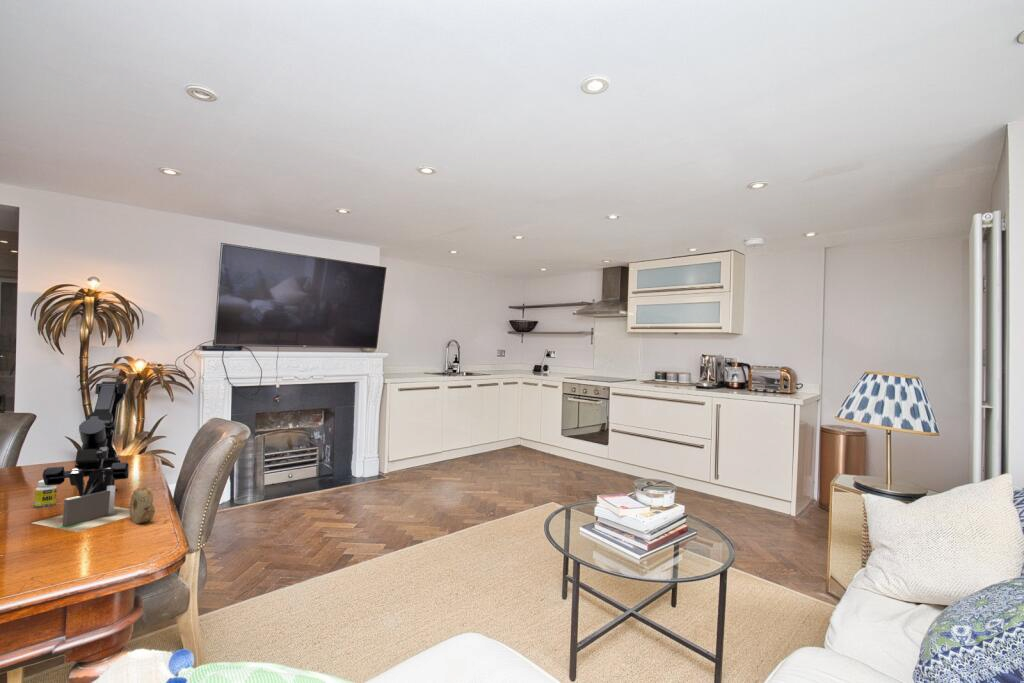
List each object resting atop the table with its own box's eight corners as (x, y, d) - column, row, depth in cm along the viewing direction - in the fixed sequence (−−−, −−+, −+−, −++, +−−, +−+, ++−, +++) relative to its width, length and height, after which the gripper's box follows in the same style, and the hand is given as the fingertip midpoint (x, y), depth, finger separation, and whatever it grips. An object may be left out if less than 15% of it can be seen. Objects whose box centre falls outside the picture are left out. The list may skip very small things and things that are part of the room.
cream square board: (102, 506, 145) (102, 504, 145) (145, 513, 141) (145, 511, 141) (31, 525, 128) (31, 522, 128) (77, 534, 124) (77, 531, 124)
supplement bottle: (40, 510, 139) (43, 483, 140) (29, 509, 140) (31, 481, 141) (59, 506, 144) (61, 479, 144) (47, 504, 145) (50, 477, 145)
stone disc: (125, 520, 135) (128, 486, 135) (140, 517, 138) (143, 483, 138) (139, 528, 129) (141, 493, 130) (154, 525, 132) (157, 490, 133)
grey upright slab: (110, 512, 138) (112, 484, 139) (114, 513, 138) (117, 485, 138) (61, 525, 127) (64, 495, 127) (66, 526, 126) (69, 496, 127)
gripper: (47, 439, 131) (32, 488, 122) (131, 436, 142) (123, 480, 132) (52, 461, 137) (38, 509, 128) (131, 456, 148) (124, 500, 139)
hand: (82, 499), depth 131 cm, fingers closed
